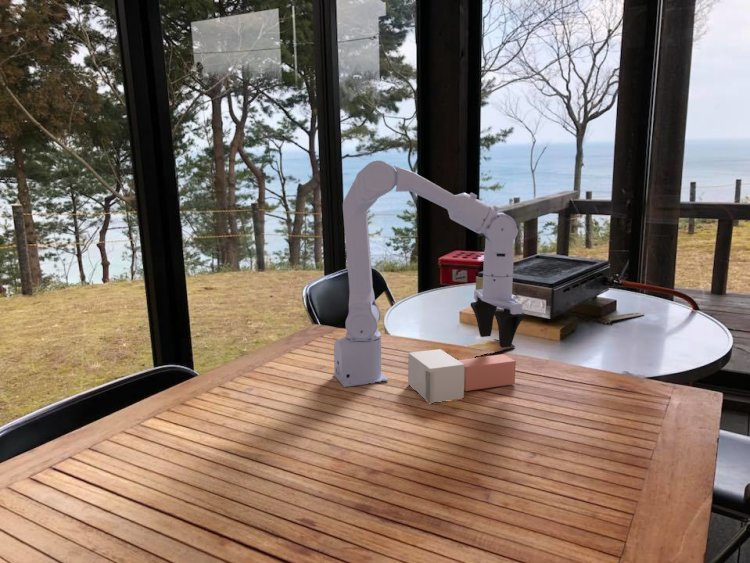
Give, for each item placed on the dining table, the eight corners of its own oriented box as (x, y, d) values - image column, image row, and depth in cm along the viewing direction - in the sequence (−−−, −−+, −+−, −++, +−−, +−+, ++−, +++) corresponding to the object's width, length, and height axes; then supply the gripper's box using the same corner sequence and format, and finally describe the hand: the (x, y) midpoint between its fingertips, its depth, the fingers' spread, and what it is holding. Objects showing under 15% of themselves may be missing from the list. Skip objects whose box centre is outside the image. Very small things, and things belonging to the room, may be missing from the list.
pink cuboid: (465, 391, 107) (466, 367, 106) (454, 383, 111) (455, 360, 110) (514, 383, 110) (515, 360, 109) (502, 376, 114) (503, 354, 114)
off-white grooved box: (429, 404, 101) (430, 368, 100) (408, 385, 110) (408, 352, 109) (463, 399, 103) (464, 364, 102) (439, 381, 113) (440, 349, 111)
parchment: (496, 339, 142) (496, 336, 142) (524, 348, 134) (524, 345, 134) (418, 357, 130) (418, 353, 130) (444, 368, 121) (444, 364, 121)
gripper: (537, 279, 103) (533, 349, 106) (495, 267, 117) (493, 330, 119) (504, 281, 101) (501, 353, 103) (466, 269, 114) (464, 333, 117)
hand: (495, 341), depth 111 cm, fingers open, 7 cm apart
